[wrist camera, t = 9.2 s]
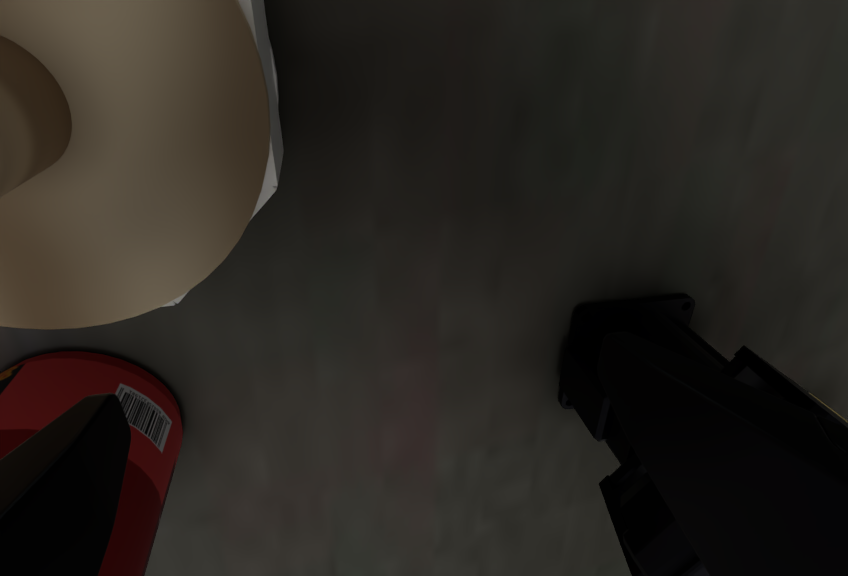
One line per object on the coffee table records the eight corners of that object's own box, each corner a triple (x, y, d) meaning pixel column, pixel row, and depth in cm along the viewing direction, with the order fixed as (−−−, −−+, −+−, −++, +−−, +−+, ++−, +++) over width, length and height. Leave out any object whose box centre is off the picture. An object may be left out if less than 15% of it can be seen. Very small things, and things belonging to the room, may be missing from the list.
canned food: (-19, 329, 20) (-321, 628, 10) (199, 361, 22) (119, 622, 13) (-15, 467, 23) (-243, 794, 13) (176, 481, 25) (98, 762, 16)
